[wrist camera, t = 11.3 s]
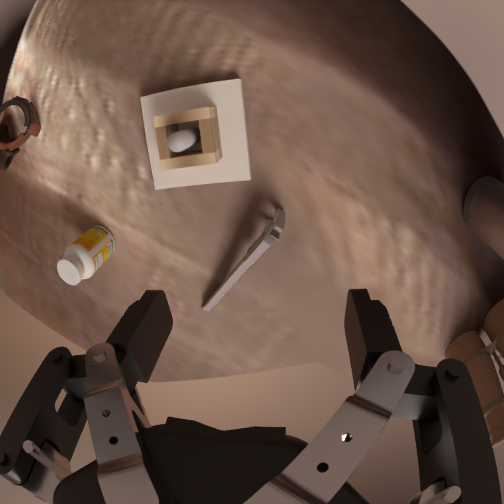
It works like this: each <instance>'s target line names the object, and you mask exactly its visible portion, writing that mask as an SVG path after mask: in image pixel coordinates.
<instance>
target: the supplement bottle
mask: <svg viewBox="0 0 504 504" xmlns="http://www.w3.org/2000/svg"><path fill="white" fill-rule="evenodd" d="M114 249H115V241H114V238H113V236H112V234H111V233H110V232H109V231H108V230H107V229H106V228H104V227H102V226H93V227H91V228H90V229H89V230H88V231H86V232H85V233H84V234H83V235H81V236H80V237H79V238H78V239H77V240H75V241H74V242H73V243H72V244H71V245H69V246H68V247H67V248H66V250H65V253H64V256H63V257H62V259H61V260H60V261H59V262H58V264H57V269H58V273H59V275H60V276H61V278H62V279H63V280H64V281H65V282H66V283H68V284H70V285H76V284H78V283H79V282H80V281H81V280H82V279H87V278H89V277H91V276H92V275H93V274H94V273H95V272H96V271H97V269H98V268H99V267H100V266H101V265H102V264H103V263H104V262H105V261H106V260H107V259H108V258H109V257H110V256H111V254H112V253H113V252H114Z"/></svg>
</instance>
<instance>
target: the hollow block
mask: <svg viewBox="0 0 504 504" xmlns="http://www.w3.org/2000/svg"><path fill="white" fill-rule="evenodd" d="M153 119H154V126H155V132H156V139H157V145H158V151H159V157H160V163H161V169H162V171H164V170H170V169H178V168H185V167H193V166H201V165H210V164H216V163H217V162H218V161H219V160H220V159H221V158H222V157H223V156H222V148H221V139H220V131H219V123H218V114H217V107H204V108H197V109H191V110H186V111H180V112H175V113H170V114H165V115H160V116H155V117H153ZM194 120H199V128H200V136H201V143H202V149H201V150H194V151H187V152H182V151H181V152H173V151H172V150H170V149H169V147H168V144H167V141H168V138H169V136H170V135H171V134H172V133H175V132H178V131H179V130H178V123H182V122H188V121H194Z"/></svg>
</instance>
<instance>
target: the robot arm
mask: <svg viewBox="0 0 504 504" xmlns="http://www.w3.org/2000/svg"><path fill="white" fill-rule="evenodd" d="M463 215H464V220H465V223H466V225H467V226H468V228H469V229H470V230H471V231H473V232H474V233H475V234H476V235H477V236H478V237H479V238H481V239H482V240H483V241H484V242H485V243H486V244H487V245H488V246H489V247H490V248H492V249H493V250H494V251H495V252H496V253H497V254H498V255H499V256H500V257H501V258H502V259H503V260H504V183H502V182H500V181H498V180H497V179H495V178H493V177H490V176H484V177H481V178H479V179H477V180H476V181H475V182H474V183H473V184H472V185H471V187H470V188H469V190H468V192H467V194H466V197H465V201H464V207H463ZM172 326H173V318H172V314H171V311H170V308H169V305H168V302H167V298H166V295H165V293H164V291H162V290H146V291H145V293H144V294H143V296H142V297H141V299H140V300H137V301H136V302H134V303H133V304H132V305H130V306H129V307H128V309H127V310H126V312H125V313H124V316H122V318H121V319H120V322H118V324H117V325H116V327H115V328H114V330H113V331H112V333H111V334H110V336H109V337H108V339H107V341H106V342H105V343H98V344H96V345H94V346H92V347H91V348H90V349H88V351H87V352H86V354H85V355H74V356H72V354H71V353H70V351H69V350H68V348H66V347H57V348H55V349H53V350H52V351H50V352H49V353H48V355H47V356H46V358H45V359H44V361H43V362H42V364H41V365H40V367H39V368H38V370H37V372H36V373H35V375H34V377H33V378H32V380H31V381H30V383H29V384H28V387H27V388H26V390H25V391H24V393H23V395H22V396H21V398H20V400H19V402H18V403H17V405H16V407H15V409H14V411H13V412H12V414H11V416H10V418H9V420H8V422H7V424H6V426H5V428H4V430H3V432H2V434H1V436H0V475H1V476H3V477H4V478H6V479H7V480H9V481H10V482H11V483H12V484H13V485H15V486H17V487H19V488H20V489H22V490H23V491H25V492H27V493H28V494H30V495H33V496H35V497H37V498H39V499H41V500H42V501H45V502H48V503H50V504H370V503H369V502H368V501H366V500H365V499H364V498H363V497H362V496H361V495H360V494H359V493H358V492H357V491H356V490H355V489H354V488H353V487H352V486H351V485H350V484H349V483H348V482H347V480H348V479H349V478H350V476H351V475H352V473H353V472H354V471H355V470H356V468H357V467H358V466H359V464H360V463H361V461H362V460H363V459H364V457H365V456H366V454H367V453H368V451H369V450H370V449H371V447H372V446H373V444H374V443H375V441H376V440H377V438H378V436H379V435H380V433H381V432H382V430H383V429H384V427H385V425H386V423H387V422H388V420H389V419H390V417H391V416H392V417H398V418H406V419H412V421H413V427H414V433H415V441H416V448H417V456H418V465H419V476H420V489H421V492H420V493H419V494H417V495H416V496H414V497H413V498H412V499H411V501H410V502H409V504H502V500H501V492H500V484H499V478H498V472H497V467H496V462H495V457H494V452H493V448H492V443H491V439H490V435H489V432H488V428H487V424H486V421H485V417H484V414H483V411H482V408H481V404H480V401H479V398H478V395H477V392H476V390H475V387H474V384H473V381H472V378H471V376H470V373H469V371H468V368H467V367H466V365H465V364H464V363H462V362H461V361H459V360H457V359H454V358H447V359H444V360H442V361H441V362H439V364H438V365H437V367H429V366H422V365H418V364H415V363H414V361H413V359H412V358H411V357H410V356H409V355H407V354H406V353H404V352H402V349H401V346H400V343H399V340H398V338H397V335H396V332H395V329H394V327H393V325H392V321H391V319H390V318H389V314H388V311H387V309H386V307H385V306H384V305H383V304H382V303H381V302H380V301H379V300H371V299H370V296H369V294H368V291H367V289H349V291H348V296H347V304H346V312H345V320H344V327H345V335H346V340H347V345H348V351H349V357H350V362H351V368H352V375H353V381H354V387H355V394H354V395H353V396H349V397H348V398H347V399H346V400H345V401H344V403H343V404H342V405H341V407H340V408H339V409H338V410H337V411H336V413H335V414H334V415H333V417H332V418H331V419H330V420H329V421H328V423H327V424H326V425H325V426H324V427H323V428H322V430H321V431H320V432H319V433H318V434H317V435H316V437H315V438H314V439H313V440H312V441H311V442H310V443H309V444H308V443H307V442H305V441H303V440H301V439H299V438H296V437H293V436H289V435H286V428H285V427H256V426H255V427H249V428H241V429H235V430H226V431H222V430H218V429H216V428H213V427H210V426H207V425H204V424H202V423H199V422H196V421H193V420H186V419H180V418H173V417H168V418H167V421H166V424H161V425H155V426H151V424H150V422H149V420H148V417H147V415H146V412H145V409H144V407H143V404H142V401H141V398H140V396H139V393H138V390H137V388H136V384H137V382H138V381H139V382H144V383H147V382H148V380H149V378H150V376H151V374H152V371H153V369H154V367H155V365H156V363H157V360H158V358H159V356H160V354H161V351H162V349H163V347H164V345H165V343H166V341H167V338H168V336H169V334H170V332H171V330H172ZM62 388H63V389H64V390H65V392H66V393H67V394H66V396H65V398H64V400H63V402H62V404H61V406H60V408H59V410H58V412H56V410H55V402H56V400H57V397H58V396H59V394H60V392H61V390H62ZM87 419H88V424H89V429H90V434H91V438H92V443H93V447H94V451H95V455H96V460H94V461H93V462H91V463H89V464H88V465H86V466H84V467H83V468H81V469H79V470H78V471H76V472H74V473H72V471H71V465H70V461H71V458H72V455H73V452H74V450H75V448H76V445H77V442H78V440H79V438H80V435H81V433H82V431H83V428H84V426H85V423H86V421H87Z"/></svg>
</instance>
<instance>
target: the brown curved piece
mask: <svg viewBox="0 0 504 504" xmlns="http://www.w3.org/2000/svg"><path fill="white" fill-rule="evenodd" d="M10 105H17V106H19V107H20V108H21V109H22V110H23V112H24V115H25V125H24V126H28V127H27V130H26V132H25V133H21V134H20V135H19V137H18V138H17V139H15V140H14V141H13V140H12V139H11V138H10V136H9V133H8V124H9V121H10V118H11V115H9V114H5V115H4V117H3V119H2V121H1V124H0V170H2V171H5V170H6V169H7V168H8V167H9V165H10V163H11V162H12V160H13V157H14V156H15V155H16V154H17V153H18V152H19V151H20V149H19V148H18V147H19V146H20V145H22V144H23V143H24V142H25V141H26V140H27V139H28V138H29V137H30V135H34V136H35V137H36V136H38V134H39V132H40V129H41V126H40V124H38V123H39V118H38V115H37V112H36V109H35V107H34V106H33V104H32V103H31V102H30V103H29V101H28V100H27V99H25V98H21V97H19V96H16V97H14V98H13V99H12V100H9V101H7V102H5V103H4V104H2V105H1V106H0V114H1V112H2V111H3V110H4V109H5V108H6V107H8V106H10Z"/></svg>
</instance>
